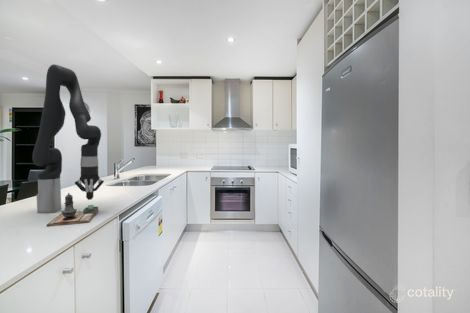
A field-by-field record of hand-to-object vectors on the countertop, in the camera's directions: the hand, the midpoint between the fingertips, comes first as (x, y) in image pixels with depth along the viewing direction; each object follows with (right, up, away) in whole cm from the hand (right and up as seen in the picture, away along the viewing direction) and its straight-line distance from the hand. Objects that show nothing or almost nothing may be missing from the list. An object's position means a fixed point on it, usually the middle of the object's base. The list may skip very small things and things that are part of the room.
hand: (89, 199), depth 117 cm
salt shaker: (-3, -7, -10) cm, 13 cm away
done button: (0, -6, 0) cm, 6 cm away
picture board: (-3, -8, -6) cm, 11 cm away
